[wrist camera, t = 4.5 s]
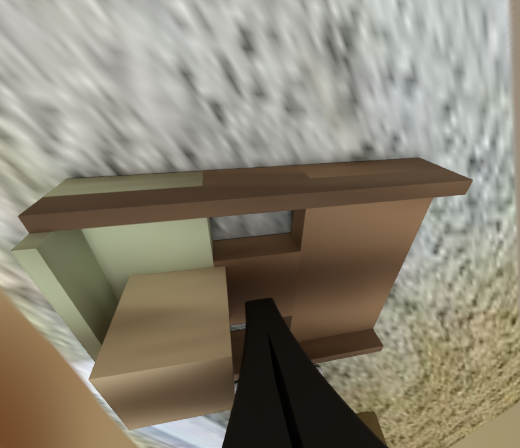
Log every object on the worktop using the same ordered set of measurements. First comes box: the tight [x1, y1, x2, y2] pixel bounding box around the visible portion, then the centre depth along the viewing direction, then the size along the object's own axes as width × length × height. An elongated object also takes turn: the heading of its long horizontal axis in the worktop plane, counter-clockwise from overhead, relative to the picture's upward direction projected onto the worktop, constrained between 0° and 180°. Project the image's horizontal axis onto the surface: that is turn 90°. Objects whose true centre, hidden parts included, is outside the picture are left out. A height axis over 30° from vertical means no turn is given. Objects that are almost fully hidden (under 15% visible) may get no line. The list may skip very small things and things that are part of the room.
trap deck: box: [11, 158, 473, 379], centre depth 12 cm, size 12×15×4 cm
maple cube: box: [89, 266, 235, 430], centre depth 10 cm, size 4×4×4 cm
